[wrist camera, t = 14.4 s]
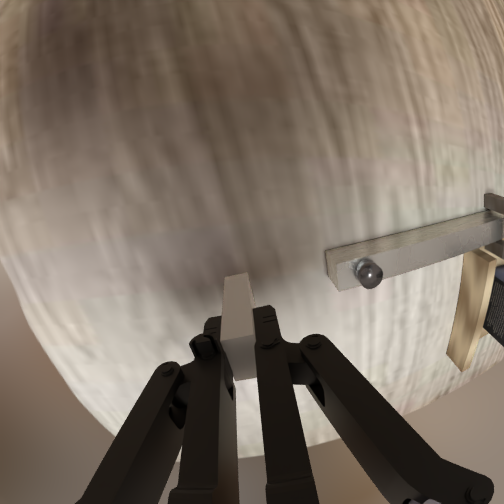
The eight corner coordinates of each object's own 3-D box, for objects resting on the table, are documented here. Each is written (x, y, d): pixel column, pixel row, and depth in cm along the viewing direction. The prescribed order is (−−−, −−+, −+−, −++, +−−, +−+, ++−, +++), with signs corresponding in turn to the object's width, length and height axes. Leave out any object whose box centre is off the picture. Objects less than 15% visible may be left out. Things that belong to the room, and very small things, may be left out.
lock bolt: (325, 250, 19) (341, 270, 16) (492, 209, 19) (516, 218, 16) (328, 276, 20) (343, 299, 17) (491, 229, 19) (514, 240, 16)
